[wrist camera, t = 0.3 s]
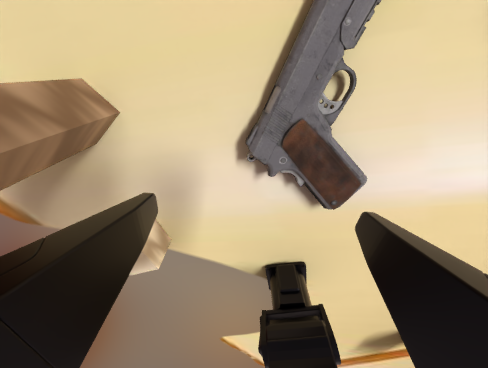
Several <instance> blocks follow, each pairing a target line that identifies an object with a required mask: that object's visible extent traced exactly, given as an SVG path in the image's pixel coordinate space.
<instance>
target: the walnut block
mask: <svg viewBox="0 0 488 368" xmlns="http://www.w3.org/2000/svg"><path fill="white" fill-rule="evenodd" d="M119 113H120V112H119V111H118V110H117V109H116V108H114V107H113V106H112V105H111V104H110V103H109V102H108V101H106V100H105V99H104V98H103V97H102V96H101V95H100V94H98V93H97V92H96V91H95V90H94V89H93V88H92V87H90V86H89V85H88V84H87V83H86V82H85V81H84V80H83V79H67V80H50V81H33V82H16V83H0V191H1V190H3V189H5V188H7V187H9V186H11V185H13V184H15V183H17V182H19V181H21V180H23V179H25V178H27V177H29V176H31V175H33V174H35V173H37V172H39V171H41V170H43V169H45V168H48V167H50V166H52V165H54V164H56V163H58V162H60V161H62V160H64V159H66V158H68V157H70V156H72V155H74V154H76V153H78V152H80V151H82V150H84V149H86V148H88V147H90V146H92V145H94V144H96V143H97V142H98V141H99V139H100V138H101V137H102V136H103V134H104V133H105V132H106V130H107V129H108V128H109V126H110V125H111V124H112V122H113V121H114V120H115V118H116V117H117V116H118V114H119Z"/></svg>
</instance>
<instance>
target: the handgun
mask: <svg viewBox="0 0 488 368" xmlns="http://www.w3.org/2000/svg"><path fill="white" fill-rule="evenodd" d="M380 2H381V0H314V1H313V3H312V5H311V8H310V10H309V12H308V14H307V16H306V18H305V21H304V23H303V25H302V27H301V29H300V31H299V34H298V36H297V38H296V40H295V42H294V44H293V47H292V49H291V51H290V53H289V55H288V57H287V60H286V62H285V64H284V66H283V68H282V70H281V73H280V75H279V77H278V79H277V81H276V84H275V86H274V88H273V90H272V92H271V95H270V97H269V99H268V101H267V103H266V105H265V107H264V109H263V112H262V114H261V116H260V118H259V120H258V123H256V124H255V126H254V127H253V129H252V131H251V132H250V134H249V136H248V138H247V139H246V144H247V145H248V148H249V150H250V152H249V153H248V154H247V159H248V161H250V162H252V161H254V160H257V159H258V160H259V161H260V162H262V163H263V164H264V165H266V164H267V165H268V169H267V171H268V175H269V176H271V177H273V176H275V175H276V174H277V173H278V172H281V173H291V174H293V175H294V176H295V179H296V181H297V183H298V184H299V186H300V187H301V186H302V185H303V184H305V185H306V187H307V188H308V189H309V190H310V192H311V193H312V194H313V195H314V196H315V198H316V199H317V200H318V201H319V202H320V204H321V205H322V206H323V207H324V208H327V209H333V210H334V209H336V208H338V207H340V206H341V205H342V204H343V203H344V202H346V201H347V200H348V199H349V198H350V197H351V196H352V195H353V194H354V193H356V192H357V191H358V190H359V189H360V188H361V187H362V186H363V185H364V184H365V183H366V181H367V176H365V175H364V173H363V172H362V171H361V169H360V168H359V167H358V166H357V165H356V164H355V162H354V161H353V160H352V159H351V158H350V157H349V155H348V154H347V153H346V152H345V151H344V150H343V148H342V147H341V146H340V145H339V144H338V143H337V142H336V140H335V139H334V138H333V137H332V134H331V131H332V129H331V127H330V126H331V125H332V124H333V123H334V121H335V120H336V118H337V117H338V115H339V113H340V112H341V110H342V109H343V107H344V105H345V104H346V102H347V101H348V99H349V98H350V96H351V94H352V93H353V91H354V89H355V86H356V74H355V72H354V71H353V70H352V69H351V68H349V67H348V66H347V65H346V64H345V63H344V60H343V58H342V57H343V55H344V50H347V49H352V48H354V47H355V46H356V44H357V42H358V40H359V39H360V37H361V35H362V34H363V32H364V30H365V29H366V27H364V25H365V23H366V22H368V21H369V20H370V19H371V17H372V15H373V14H374V12H375V11H374V8H375V6H376V5H378V4H379V3H380ZM339 70H345V71H346V72H347V73H348V74H349V76H350V86H349V89H348V91H347V93H346V94H345V96H344V98H343V99H342V101H331V100H329V99H327V98H326V97H325V95H324V93H323V91H324V90H325V88H326V86H327V84H328V82H329V81H330V79H331V77H332V76H333V74H334V73H335V72H337V71H339ZM321 99H322V100H323V102H322V103H319V101H320V100H321ZM324 104H327V106H326V107H325V108H324ZM331 105H333V108H331V109H330V106H331ZM250 155H252V156H253V157H252V158H250V157H249V156H250Z"/></svg>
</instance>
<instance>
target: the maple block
mask: <svg viewBox="0 0 488 368" xmlns="http://www.w3.org/2000/svg"><path fill="white" fill-rule="evenodd" d="M171 240H172V239H171V238H170V237H169V236H168V234H167V233H166V232H165V230H164V229H163V228H162V227H161V225H160V224H159V223H158V222H157V220H156V219H155V222H154V224H153V227H152V229H151V232H150V234H149V237H148V239H147V242H146V244H145V246H144V248H143V250H142V252H141V254H140V256H139V258H138V259H137V261H136V263H135V265H134V267H133V269H132V271H131V272H130V275H135V274H139V273H143V272H148V271H152V270H156V269H159V267H160V265H161V262H162V260H163V258H164V255H165V253H166V251H167V249H168V247H169V244H170V242H171Z"/></svg>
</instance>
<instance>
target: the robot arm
mask: <svg viewBox="0 0 488 368" xmlns="http://www.w3.org/2000/svg"><path fill="white" fill-rule="evenodd" d="M157 214H158V206H157V200H156V196H155V194H153V193H142V194H140V195H138V196H136V197H134V198H131V199H129V200H127V201H125V202H122V203H120V204H118V205H116V206H113V207H111V208H109V209H107V210H104V211H102V212H100V213H98V214H95V215H93V216H91V217H89V218H87V219H84V220H82V221H80V222H78V223H75V224H73V225H71V226H69V227H66V228H64V229H62V230H60V231H57V232H55V233H53V234H51V235H48V236H46V238H42V239H39V240H37V241H35V242H33V243H31V244H28V245H26V246H24V247H21V248H19V249H17V250H14V251H12V252H10V253H8V254H5V255H3V256H0V368H80V366H81V364H82V362H83V360H84V358H85V356H86V354H87V353H88V351H89V349H90V347H91V345H92V343H93V341H94V340H95V338H96V336H97V334H98V332H99V330H100V328H101V327H102V325H103V323H104V321H105V319H106V317H107V315H108V313H109V312H110V310H111V308H112V306H113V304H114V302H115V300H116V299H117V297H118V295H119V293H120V291H121V289H122V287H123V286H124V284H125V282H126V280H127V278H128V276H129V274H130V272H131V271H132V269H133V267H134V265H135V263H136V261H137V259H138V258H139V256H140V254H141V252H142V250H143V248H144V246H145V244H146V242H147V239H148V237H149V234H150V232H151V229H152V227H153V224H154V222H155V219H156V216H157ZM355 231H356V234H357V237H358V240H359V243H360V246H361V249H362V251H363V254H364V257H365V260H366V263H367V265H368V267H369V269H370V272H371V274H372V276H373V278H374V280H375V282H376V284H377V287H378V289H379V291H380V293H381V295H382V297H383V300H384V302H385V304H386V306H387V308H388V310H389V312H390V315H391V317H392V319H393V321H394V323H395V325H396V327H397V330H398V332H399V334H400V336H401V338H402V340H403V342H404V345H405V347H406V349H407V351H408V353H409V355H410V358H411V360H412V362H413V364H414V366H415V368H488V275H487V274H485V273H483V272H482V271H480V270H478V269H476V268H475V267H473V266H471V265H469V264H467V263H465V262H464V261H462V260H460V259H458V258H456V257H454V256H453V255H451V254H449V253H447V252H445V251H443V250H442V249H440V248H438V247H436V246H434V245H432V244H431V243H429V242H427V241H425V240H423V239H422V238H420V237H418V236H416V235H414V234H412V233H411V232H409V231H407V230H405V229H403V228H401V227H400V226H398V225H396V224H394V223H392V222H390V221H389V220H387V219H385V218H383V217H381V216H379V215H378V214H376V213H373V212H363V213H362V214H361V216H360V218H359V220H358V222H357V224H356V226H355ZM265 269H266V275H267V280H268V285H269V289H270V290H271V296H272V306H273V310H267V311H266V310H262V316H261V317H260V339H259V347H258V349H259V353H260V354H261V356H262V357H263V361H264V365H265V368H337V365H340V364H341V360H340V355H339V351H338V347H337V344H336V340H335V337H334V334H333V331H332V328H331V326H330V323H329V320H328V318H327V315H326V312H325V309H324V307H323V304H319V305H314V306H312V305H311V301H310V297H309V293H308V290H307V286H306V264H305V263H304V262H298V263H288V264H277V265H268V266H266V267H265Z"/></svg>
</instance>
